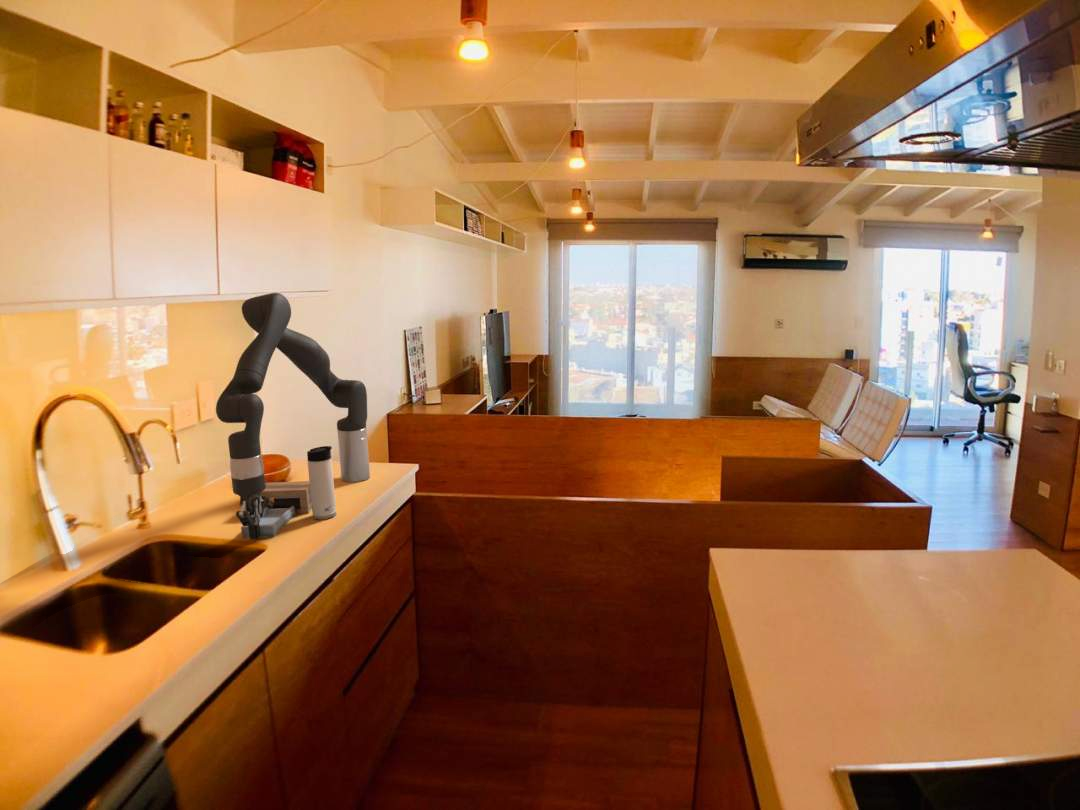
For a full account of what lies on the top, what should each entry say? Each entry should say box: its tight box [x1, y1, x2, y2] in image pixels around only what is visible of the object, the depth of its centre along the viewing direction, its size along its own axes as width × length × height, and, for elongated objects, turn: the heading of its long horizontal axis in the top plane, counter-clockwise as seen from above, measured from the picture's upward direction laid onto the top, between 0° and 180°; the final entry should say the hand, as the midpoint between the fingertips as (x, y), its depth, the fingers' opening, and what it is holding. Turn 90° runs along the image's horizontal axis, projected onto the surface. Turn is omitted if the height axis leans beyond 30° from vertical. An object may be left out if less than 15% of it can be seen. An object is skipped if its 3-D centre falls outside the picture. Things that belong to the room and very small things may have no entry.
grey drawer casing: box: [261, 480, 312, 515], centre depth 183 cm, size 8×15×7 cm, turn 92°
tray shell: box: [240, 506, 296, 539], centre depth 170 cm, size 16×8×3 cm, turn 2°
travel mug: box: [306, 445, 337, 520], centre depth 175 cm, size 6×7×20 cm
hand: (255, 538), depth 161 cm, fingers closed
